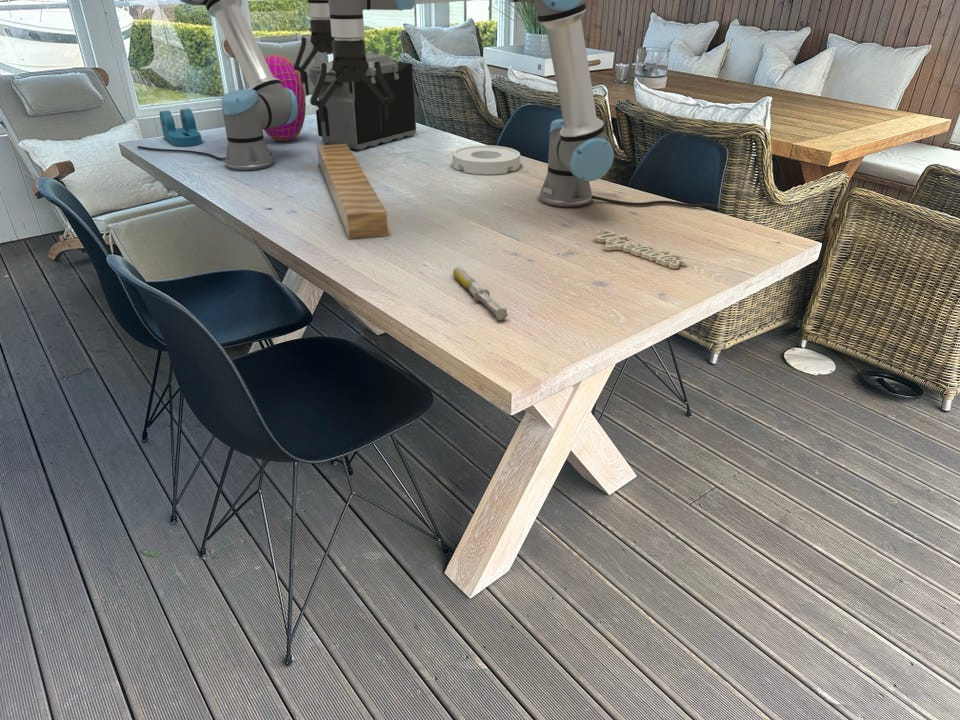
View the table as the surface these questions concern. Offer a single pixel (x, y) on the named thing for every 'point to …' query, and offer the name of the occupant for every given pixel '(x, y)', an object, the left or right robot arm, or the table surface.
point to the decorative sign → (639, 249)
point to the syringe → (479, 293)
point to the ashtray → (486, 159)
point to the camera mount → (180, 135)
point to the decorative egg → (292, 81)
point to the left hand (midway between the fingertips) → (329, 93)
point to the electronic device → (369, 106)
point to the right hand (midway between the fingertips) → (355, 133)
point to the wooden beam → (352, 193)
